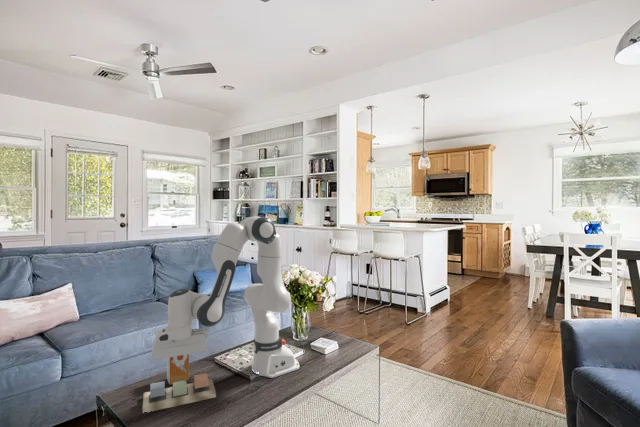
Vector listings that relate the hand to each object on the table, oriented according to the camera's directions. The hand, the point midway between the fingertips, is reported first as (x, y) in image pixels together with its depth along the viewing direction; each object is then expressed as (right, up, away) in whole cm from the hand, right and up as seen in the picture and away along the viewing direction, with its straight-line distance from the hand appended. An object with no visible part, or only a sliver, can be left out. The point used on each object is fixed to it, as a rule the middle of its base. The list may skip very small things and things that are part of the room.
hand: (180, 365), depth 137 cm
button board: (0, -13, 0) cm, 13 cm away
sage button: (0, -11, 0) cm, 11 cm away
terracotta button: (+7, -9, +4) cm, 12 cm away
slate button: (-8, -9, -3) cm, 12 cm away
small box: (-7, -12, +14) cm, 20 cm away
